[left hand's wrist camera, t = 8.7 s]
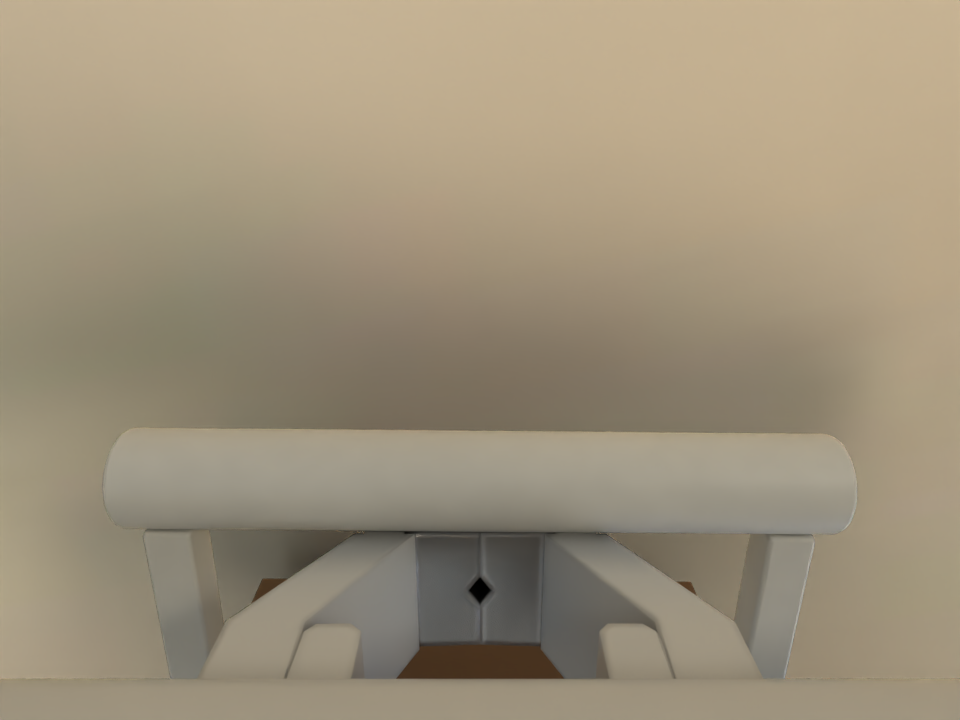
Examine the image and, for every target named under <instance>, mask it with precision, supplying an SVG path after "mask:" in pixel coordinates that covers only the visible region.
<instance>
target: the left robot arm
mask: <svg viewBox="0 0 960 720" xmlns="http://www.w3.org/2000/svg"><path fill="white" fill-rule="evenodd" d="M449 645H510V646H541V650H542V651H543V653H544V654H545V655H546V656H547V658H548V659H549V660H550V661H551V663H552V664H553V665H554V666H555V668H556V669H557V670H558V671H559V673H560V674H561V675H562V676H563V678H564V679H396V678H397V677H398V676H399V674H400V673H401V672H402V671H403V669H404V668H405V667H406V666H407V664H408V663H409V662H410V661H411V660H412V658H413V657H414V656H415V655H416V653H417V652H418V651H419V646H449ZM0 720H960V679H763V677H762V675H761V673H760V671H759V669H758V667H757V665H756V663H755V661H754V659H753V657H752V655H751V653H750V651H749V649H748V647H747V645H746V643H745V641H744V639H743V637H742V635H741V633H740V631H739V629H738V627H737V625H736V623H735V622H734V621H733V620H732V619H730V618H729V617H727V616H726V615H724V614H723V613H721V612H720V611H718V610H717V609H715V608H714V607H712V606H711V605H709V604H708V603H707V602H705V601H704V600H702V599H701V598H699V597H698V596H696V595H695V594H693V593H692V592H690V591H689V590H687V589H686V588H684V587H683V586H682V585H680V584H679V583H677V582H676V581H674V580H673V579H671V578H670V577H668V576H667V575H665V574H664V573H662V572H661V571H660V570H658V569H657V568H655V567H654V566H652V565H651V564H649V563H648V562H646V561H645V560H643V559H642V558H640V557H639V556H637V555H636V554H635V553H633V552H632V551H630V550H629V549H627V548H626V547H624V546H623V545H621V544H620V543H618V542H617V541H615V540H614V539H612V538H611V537H610V536H608V535H607V534H596V533H584V532H458V531H364V534H354V535H352V536H351V537H349V538H348V539H346V540H345V541H343V542H342V543H340V544H339V545H337V546H336V547H334V548H333V549H331V550H330V551H328V552H327V553H325V554H324V555H322V556H321V557H320V558H318V559H317V560H315V561H314V562H312V563H311V564H309V565H308V566H306V567H305V568H303V569H302V570H300V571H299V572H297V573H296V574H294V575H293V576H291V577H290V578H289V579H287V580H286V581H284V582H283V583H281V584H280V585H278V586H277V587H275V588H274V589H272V590H271V591H269V592H268V593H266V594H265V595H263V596H262V597H260V598H259V599H258V600H256V601H255V602H253V603H252V604H250V605H249V606H247V607H246V608H244V609H243V610H241V611H240V612H238V613H237V614H235V615H234V616H232V617H231V618H229V619H228V620H226V622H225V624H224V626H223V628H222V630H221V632H220V634H219V636H218V638H217V640H216V642H215V644H214V646H213V647H212V649H211V651H210V653H209V655H208V657H207V659H206V661H205V663H204V665H203V667H202V669H201V671H200V673H199V675H198V677H197V679H0Z"/></svg>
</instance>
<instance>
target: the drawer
mask: <svg viewBox="0 0 960 720" xmlns="http://www.w3.org/2000/svg"><path fill="white" fill-rule="evenodd" d="M102 490H103V501H104V506H105V509H106V512H107V514H108V516H109V518H110V520H111V521H112V522H113V523H114V524H115V525H117V526H119V527H121V528H124V529H146V530H145V532H144V533H143V540H144V545H145V550H146V556H147V561H148V566H149V571H150V576H151V581H152V586H153V591H154V596H155V602H156V607H157V612H158V617H159V622H160V627H161V632H162V637H163V642H164V648H165V653H166V658H167V663H168V668H169V673H170V678H171V679H197V677H198V675H199V673H200V671H201V669H202V667H203V665H204V663H205V661H206V659H207V657H208V655H209V653H210V651H211V649H212V647H213V646H214V644H215V642H216V640H217V638H218V636H219V634H220V632H221V630H222V628H223V626H224V622H223V616H222V609H221V603H220V596H219V590H218V583H217V577H216V570H215V564H214V557H213V551H212V544H211V538H210V531H209V530H332V531H458V532H584V533H709V534H750V535H749V541H748V547H747V552H746V558H745V563H744V569H743V574H742V580H741V585H740V591H739V596H738V602H737V608H736V613H735V619H734V622H735V623H736V625H737V627H738V629H739V631H740V633H741V635H742V637H743V639H744V641H745V643H746V645H747V647H748V649H749V651H750V653H751V655H752V657H753V659H754V661H755V663H756V665H757V667H758V669H759V671H760V673H761V675H762V677H763V679H785V676H786V671H787V667H788V662H789V658H790V653H791V649H792V644H793V640H794V635H795V631H796V626H797V622H798V617H799V613H800V608H801V604H802V599H803V595H804V590H805V586H806V581H807V577H808V572H809V568H810V563H811V559H812V554H813V550H814V545H815V540H814V537H813V536H812V534H837V533H839V532H841V531H843V530H845V529H846V528H847V527H848V526H849V524H850V523H851V521H852V519H853V516H854V513H855V510H856V505H857V479H856V473H855V469H854V465H853V462H852V459H851V457H850V455H849V453H848V451H847V449H846V448H845V446H844V445H843V444H842V443H841V442H840V441H839V440H838V439H837V438H835V437H833V436H831V435H828V434H802V433H690V432H579V431H467V430H356V429H244V428H132V429H129V430H127V431H125V432H123V433H122V434H121V435H120V436H119V437H118V438H117V439H116V441H115V442H114V444H113V445H112V447H111V449H110V452H109V454H108V457H107V460H106V463H105V468H104V474H103V484H102ZM286 580H287V579H262V581H261V583H260V585H259V588H258V590H257V592H256V594H255V596H254V598H253V601H252V603H253V602H255V601H256V600H258V599H259V598H260V597H262V596H263V595H265V594H266V593H268V592H269V591H271V590H272V589H274V588H275V587H277V586H278V585H280V584H281V583H283V582H284V581H286ZM677 583H679V584H680V585H682V586H683V587H684V588H686V589H687V590H689V591H690V592H692V593H693V594H695V595H696V592H695V590H694V588H693V586H692V584H691V582H677ZM696 596H697V595H696ZM252 603H251V604H252ZM396 679H564V678H563V676H562V675H561V674H560V673H559V671H558V670H557V669H556V668H555V666H554V665H553V664H552V663H551V661H550V660H549V659H548V658H547V656H546V655H545V654H544V653H543V651H542V650H541V646H510V645H449V646H419V651H418V652H417V653H416V655H415V656H414V657H413V658H412V660H411V661H410V662H409V663H408V664H407V666H406V667H405V668H404V669H403V671H402V672H401V673H400V674H399V676H398V677H397V678H396Z"/></svg>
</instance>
